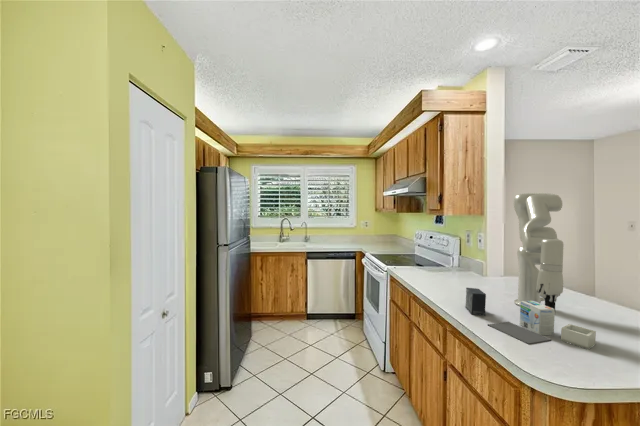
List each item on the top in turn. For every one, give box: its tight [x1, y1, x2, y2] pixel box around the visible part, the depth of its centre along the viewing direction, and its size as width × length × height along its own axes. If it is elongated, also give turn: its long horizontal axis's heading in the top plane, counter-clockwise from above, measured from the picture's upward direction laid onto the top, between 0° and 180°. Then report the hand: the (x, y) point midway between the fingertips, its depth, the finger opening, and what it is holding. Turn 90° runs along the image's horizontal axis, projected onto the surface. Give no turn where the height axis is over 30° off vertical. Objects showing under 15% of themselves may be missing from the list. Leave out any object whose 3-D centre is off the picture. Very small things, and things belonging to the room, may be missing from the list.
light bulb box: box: [519, 301, 556, 336], centre depth 122 cm, size 11×7×11 cm, turn 5°
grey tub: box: [560, 323, 597, 350], centre depth 111 cm, size 8×8×5 cm
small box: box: [464, 287, 487, 316], centre depth 142 cm, size 11×6×10 cm, turn 168°
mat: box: [487, 321, 552, 345], centre depth 119 cm, size 12×18×1 cm, turn 18°
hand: (549, 310), depth 124 cm, fingers closed
